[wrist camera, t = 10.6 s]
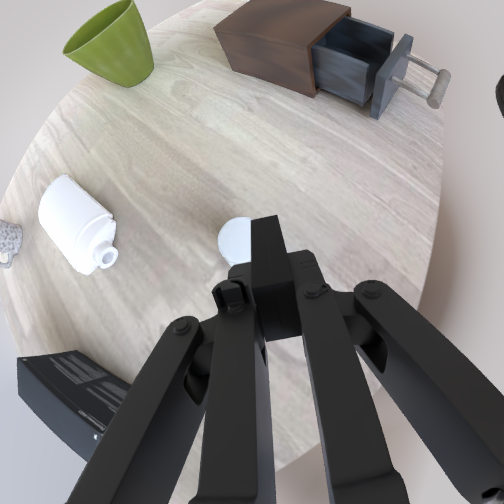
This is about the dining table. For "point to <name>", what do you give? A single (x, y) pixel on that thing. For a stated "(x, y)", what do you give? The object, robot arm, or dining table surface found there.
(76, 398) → the box
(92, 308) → the dining table surface
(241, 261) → the pill bottle
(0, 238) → the mug
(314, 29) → the cabinet
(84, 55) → the flower pot
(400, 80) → the drawer
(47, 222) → the squeeze bottle
